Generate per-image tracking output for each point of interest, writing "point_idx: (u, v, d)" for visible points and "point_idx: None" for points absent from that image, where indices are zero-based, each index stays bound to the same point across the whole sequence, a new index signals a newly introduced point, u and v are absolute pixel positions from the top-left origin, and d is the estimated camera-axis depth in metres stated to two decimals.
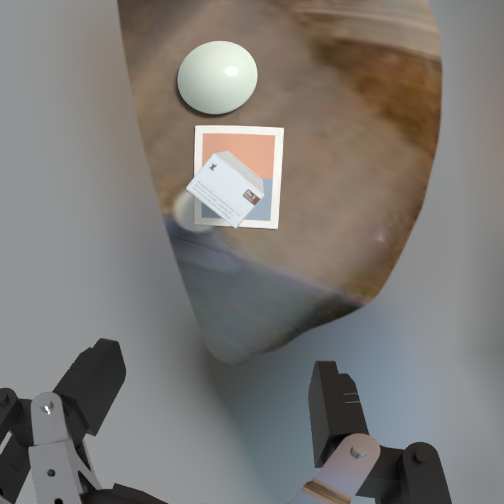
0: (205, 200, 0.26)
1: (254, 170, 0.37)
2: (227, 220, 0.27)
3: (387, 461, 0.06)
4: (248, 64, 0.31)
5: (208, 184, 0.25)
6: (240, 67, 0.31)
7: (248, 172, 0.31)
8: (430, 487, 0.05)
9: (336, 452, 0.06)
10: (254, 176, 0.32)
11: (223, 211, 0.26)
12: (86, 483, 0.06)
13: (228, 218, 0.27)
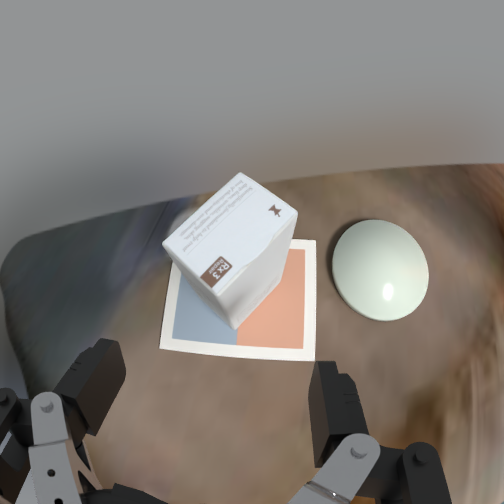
0: (217, 197, 0.15)
1: (249, 318, 0.25)
2: (178, 230, 0.15)
3: (387, 461, 0.06)
4: (402, 308, 0.24)
5: (245, 202, 0.15)
6: (397, 297, 0.25)
7: (252, 295, 0.19)
8: (430, 487, 0.05)
9: (336, 452, 0.06)
10: (244, 307, 0.20)
11: (194, 223, 0.15)
12: (86, 483, 0.06)
13: (181, 231, 0.15)
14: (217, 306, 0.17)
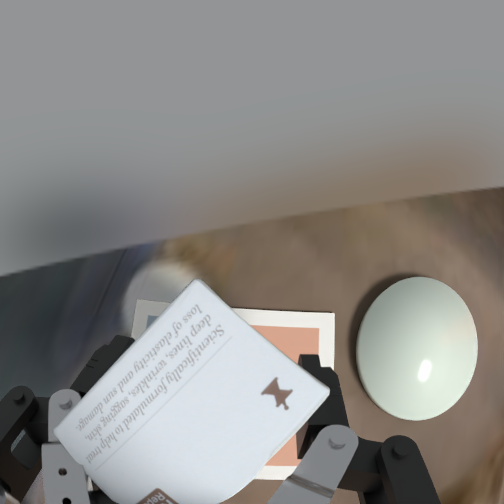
0: (143, 350, 0.06)
1: None
2: (73, 414, 0.05)
3: (366, 454, 0.07)
4: (443, 401, 0.15)
5: (206, 371, 0.06)
6: (440, 387, 0.15)
7: None
8: (412, 480, 0.05)
9: (313, 442, 0.07)
10: None
11: (99, 409, 0.05)
12: None
13: (79, 420, 0.05)
14: None
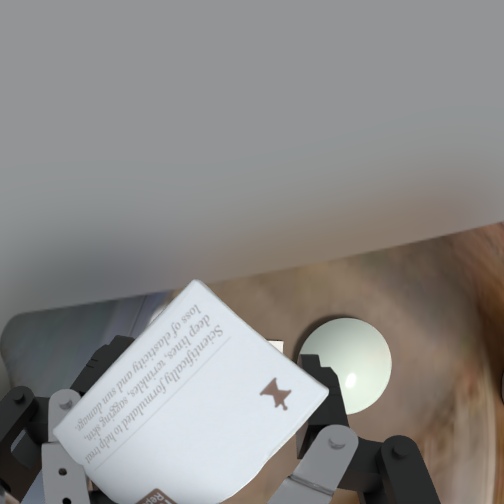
0: (142, 350, 0.06)
1: None
2: (72, 414, 0.05)
3: (366, 453, 0.07)
4: (360, 403, 0.25)
5: (204, 371, 0.06)
6: (356, 394, 0.26)
7: None
8: (412, 480, 0.05)
9: (313, 442, 0.07)
10: None
11: (98, 410, 0.05)
12: None
13: (78, 420, 0.05)
14: None
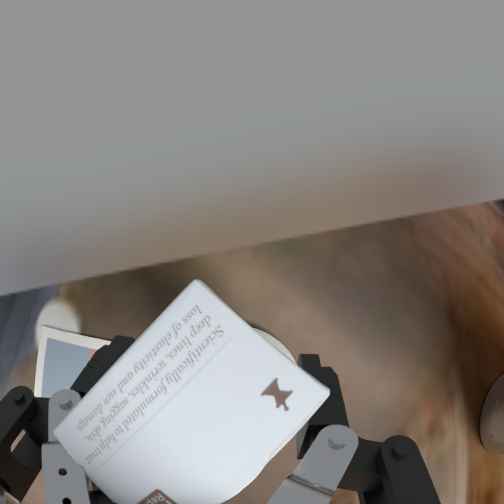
0: (143, 351, 0.06)
1: None
2: (73, 415, 0.05)
3: (366, 453, 0.07)
4: None
5: (205, 372, 0.06)
6: None
7: None
8: (412, 480, 0.05)
9: (313, 442, 0.07)
10: None
11: (99, 410, 0.05)
12: None
13: (78, 421, 0.05)
14: None
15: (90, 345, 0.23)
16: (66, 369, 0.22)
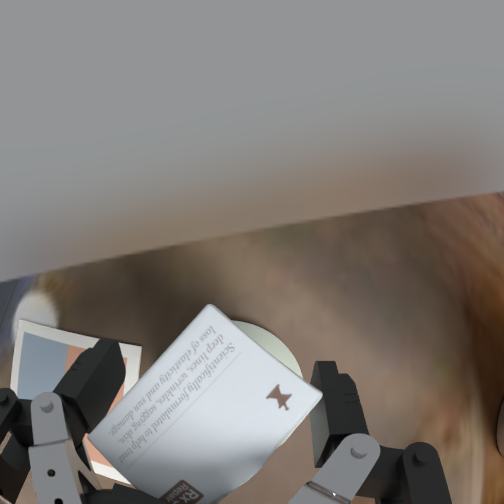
0: (167, 365, 0.07)
1: None
2: (106, 422, 0.07)
3: (387, 461, 0.06)
4: None
5: (220, 381, 0.07)
6: None
7: None
8: (430, 487, 0.05)
9: (336, 452, 0.06)
10: None
11: (130, 416, 0.07)
12: (86, 483, 0.06)
13: (112, 426, 0.07)
14: None
15: (68, 341, 0.20)
16: (42, 367, 0.19)
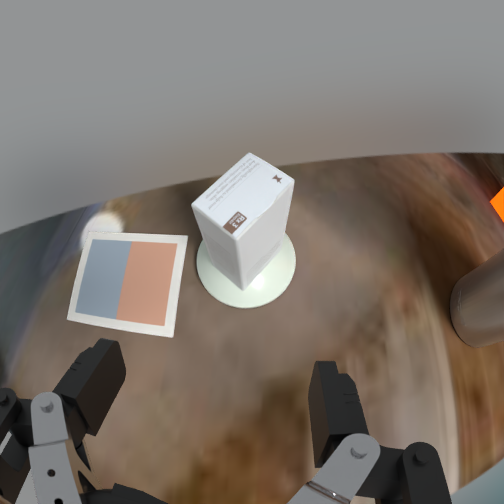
0: (232, 170, 0.20)
1: (126, 299, 0.29)
2: (203, 194, 0.19)
3: (387, 461, 0.06)
4: (259, 296, 0.29)
5: (254, 173, 0.20)
6: (255, 286, 0.29)
7: (260, 253, 0.24)
8: (430, 487, 0.05)
9: (336, 452, 0.06)
10: (253, 265, 0.25)
11: (216, 189, 0.19)
12: (86, 483, 0.06)
13: (206, 195, 0.19)
14: (232, 259, 0.22)
15: (131, 239, 0.32)
16: (108, 260, 0.31)
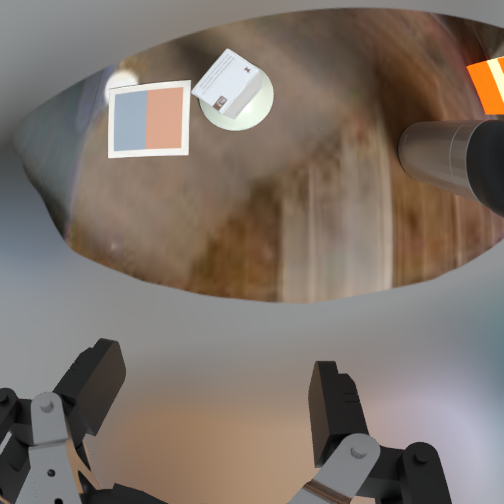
0: (216, 64, 0.24)
1: (151, 133, 0.39)
2: (198, 84, 0.25)
3: (387, 461, 0.06)
4: (246, 122, 0.37)
5: (231, 66, 0.24)
6: (243, 115, 0.37)
7: (242, 103, 0.31)
8: (430, 487, 0.05)
9: (336, 452, 0.06)
10: (238, 109, 0.32)
11: (205, 80, 0.25)
12: (86, 483, 0.06)
13: (199, 85, 0.25)
14: None
15: (147, 88, 0.37)
16: (131, 107, 0.38)
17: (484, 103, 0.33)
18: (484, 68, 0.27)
